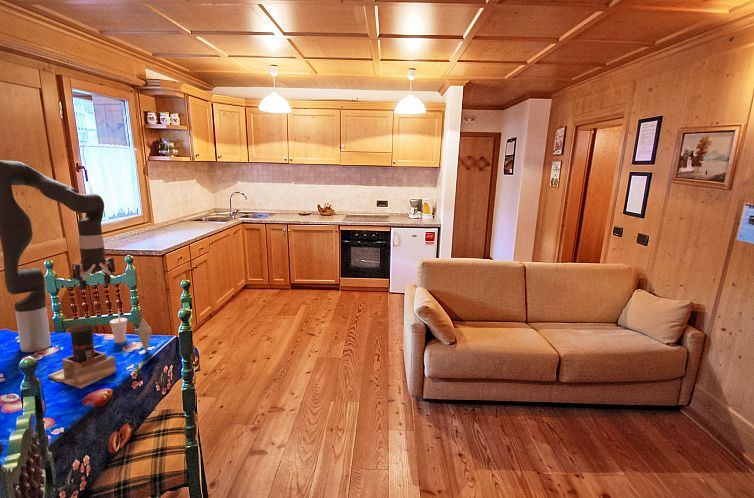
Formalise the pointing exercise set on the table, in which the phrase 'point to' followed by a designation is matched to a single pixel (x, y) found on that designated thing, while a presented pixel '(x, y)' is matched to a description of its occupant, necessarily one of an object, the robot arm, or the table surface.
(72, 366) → the socket block
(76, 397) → the table surface
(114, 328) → the smoothie
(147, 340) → the ice cream cone
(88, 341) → the deodorant
